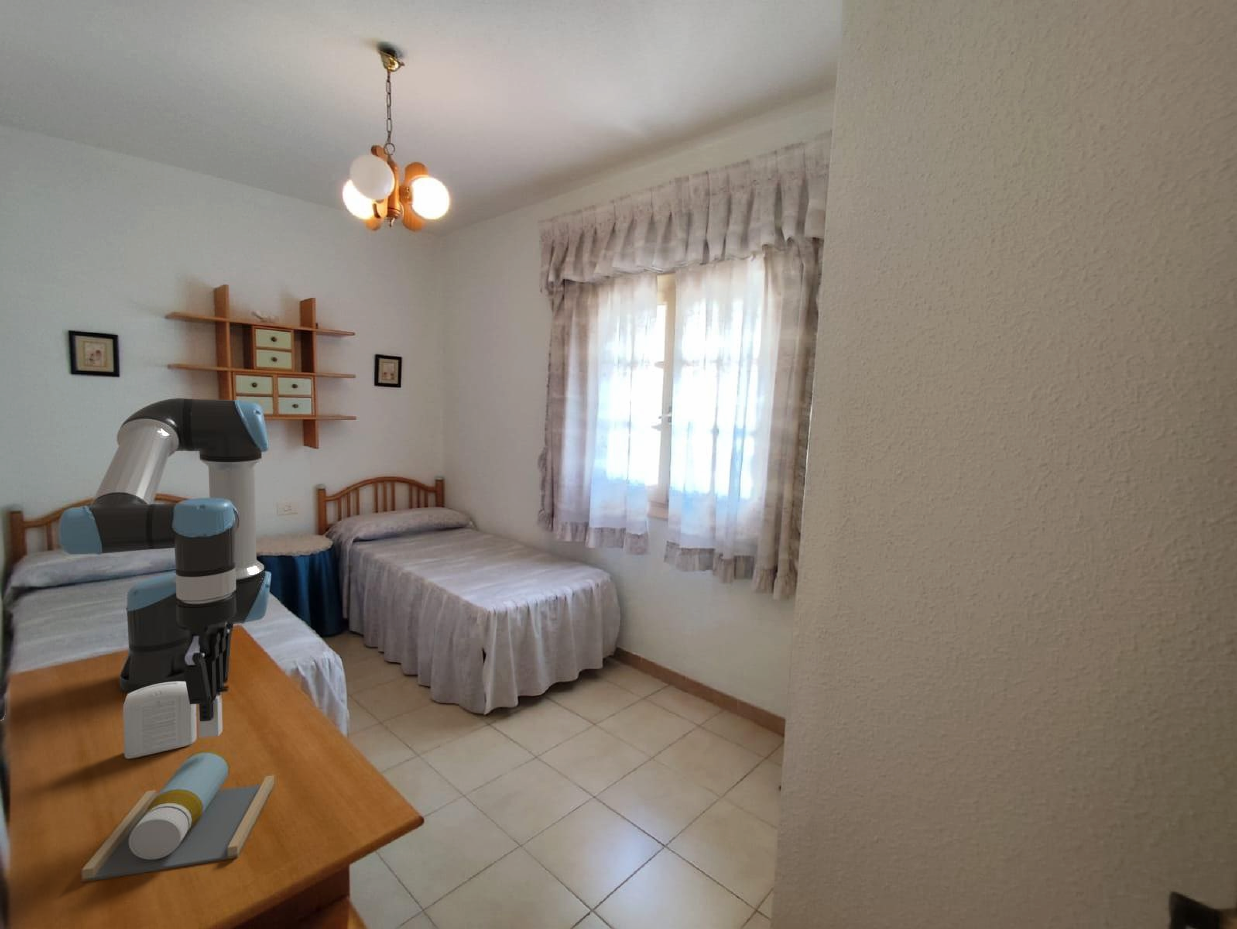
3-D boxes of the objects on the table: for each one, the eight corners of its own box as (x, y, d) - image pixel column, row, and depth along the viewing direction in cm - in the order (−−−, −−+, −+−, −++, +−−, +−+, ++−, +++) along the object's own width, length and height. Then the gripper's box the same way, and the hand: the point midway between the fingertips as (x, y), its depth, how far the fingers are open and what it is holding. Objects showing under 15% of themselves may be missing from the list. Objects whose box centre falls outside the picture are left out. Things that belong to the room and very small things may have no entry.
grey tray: (147, 801, 85) (146, 791, 85) (274, 785, 90) (274, 775, 90) (82, 882, 71) (81, 869, 71) (237, 857, 76) (237, 846, 76)
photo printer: (198, 733, 103) (196, 672, 102) (195, 745, 99) (193, 683, 98) (127, 749, 97) (124, 686, 96) (122, 763, 94) (118, 697, 92)
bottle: (175, 782, 87) (116, 857, 73) (192, 743, 87) (136, 811, 73) (221, 791, 89) (172, 866, 75) (238, 753, 89) (192, 821, 75)
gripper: (199, 583, 89) (203, 714, 92) (155, 612, 77) (161, 763, 79) (250, 581, 92) (252, 709, 94) (215, 609, 79) (219, 756, 81)
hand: (210, 734), depth 87 cm, fingers closed
